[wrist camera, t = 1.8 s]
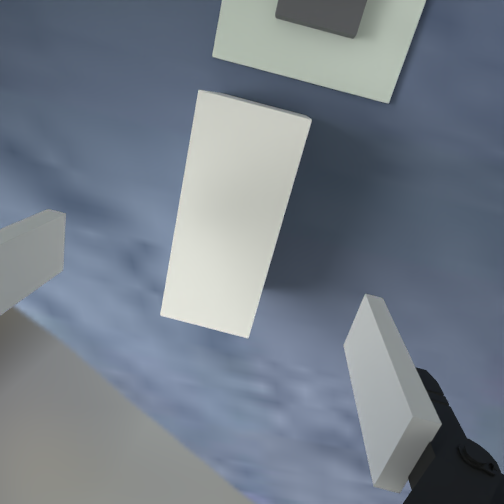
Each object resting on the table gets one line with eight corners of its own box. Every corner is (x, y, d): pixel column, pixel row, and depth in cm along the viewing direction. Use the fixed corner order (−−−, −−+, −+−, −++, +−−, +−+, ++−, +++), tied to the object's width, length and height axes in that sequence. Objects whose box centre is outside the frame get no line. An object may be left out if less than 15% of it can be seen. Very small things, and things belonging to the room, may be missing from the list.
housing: (256, 288, 31) (248, 338, 24) (187, 270, 31) (160, 315, 24) (306, 115, 25) (311, 119, 19) (221, 93, 25) (198, 89, 19)
